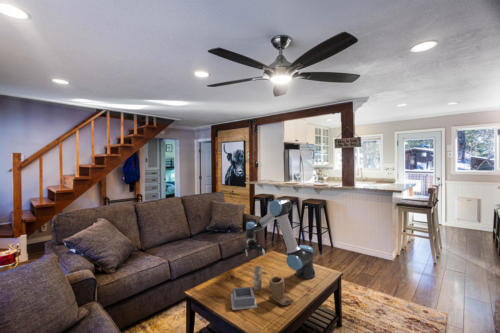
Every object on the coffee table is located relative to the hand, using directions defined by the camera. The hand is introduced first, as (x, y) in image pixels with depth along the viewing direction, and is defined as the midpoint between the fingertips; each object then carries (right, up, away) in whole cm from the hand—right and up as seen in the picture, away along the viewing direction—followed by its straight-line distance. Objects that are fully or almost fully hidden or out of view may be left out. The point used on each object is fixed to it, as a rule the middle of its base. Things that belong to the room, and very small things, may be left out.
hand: (255, 254), depth 184 cm
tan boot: (+15, -22, -25) cm, 37 cm away
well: (-9, -22, -25) cm, 35 cm away
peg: (+1, -21, -10) cm, 23 cm away
